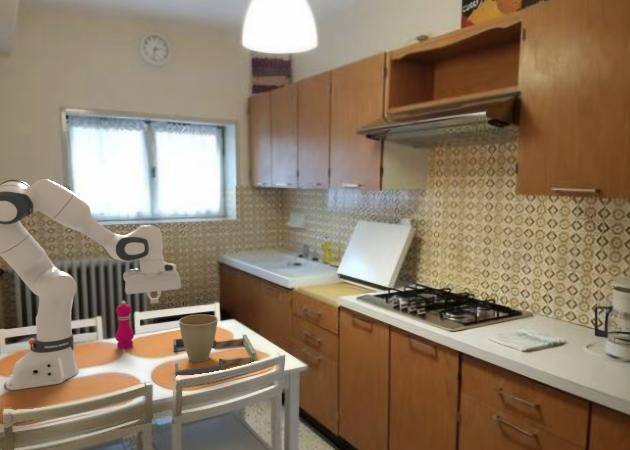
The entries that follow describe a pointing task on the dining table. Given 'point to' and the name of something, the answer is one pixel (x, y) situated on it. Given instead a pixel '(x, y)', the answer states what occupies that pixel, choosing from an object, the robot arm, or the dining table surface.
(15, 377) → the robot arm
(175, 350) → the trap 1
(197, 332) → the plant pot
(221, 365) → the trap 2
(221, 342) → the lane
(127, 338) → the pepper mill
